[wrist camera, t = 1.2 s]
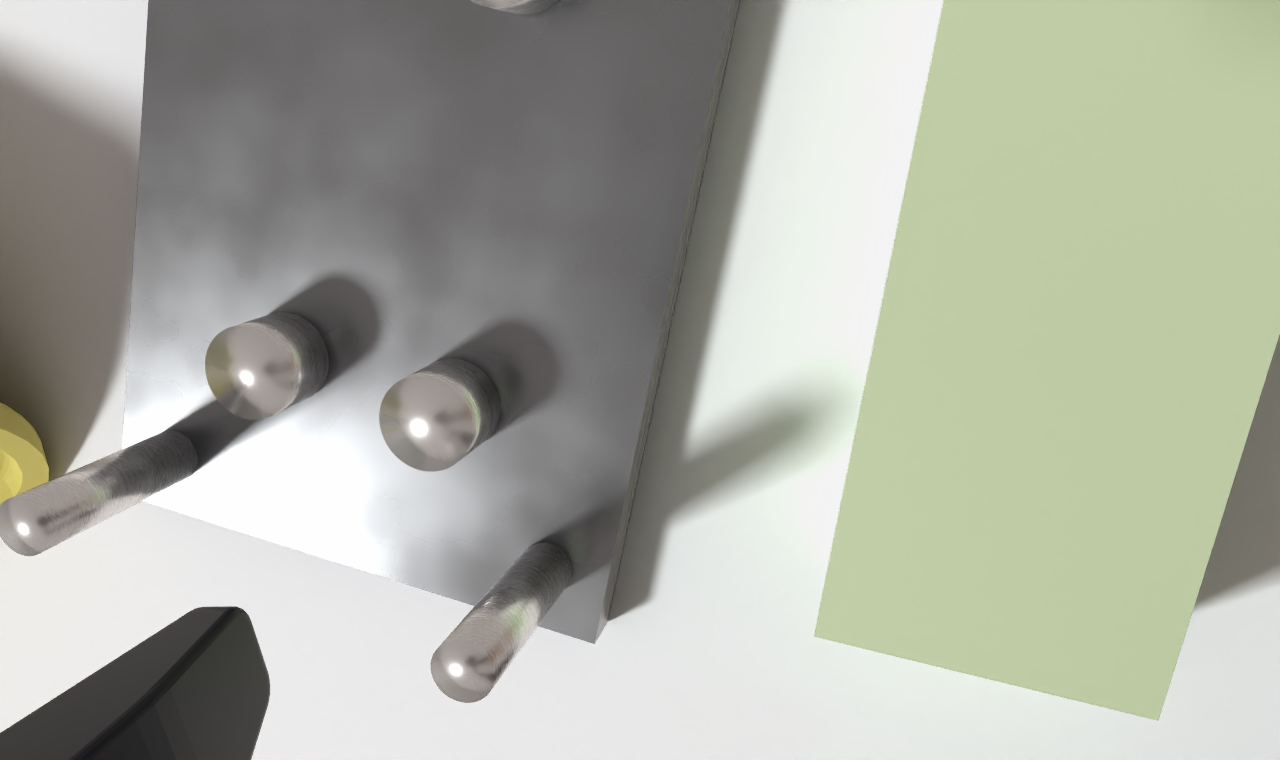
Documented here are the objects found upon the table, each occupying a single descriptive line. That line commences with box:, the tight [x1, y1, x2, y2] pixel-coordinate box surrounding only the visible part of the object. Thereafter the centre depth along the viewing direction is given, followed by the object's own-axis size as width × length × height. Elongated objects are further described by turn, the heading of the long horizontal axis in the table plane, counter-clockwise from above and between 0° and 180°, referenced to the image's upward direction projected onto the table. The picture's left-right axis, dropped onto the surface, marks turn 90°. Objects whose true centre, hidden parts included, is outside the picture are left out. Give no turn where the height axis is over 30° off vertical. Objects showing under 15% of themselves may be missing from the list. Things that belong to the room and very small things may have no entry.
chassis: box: [0, 0, 740, 703], centre depth 20 cm, size 12×18×6 cm, turn 169°
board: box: [814, 0, 1280, 720], centre depth 19 cm, size 6×12×4 cm, turn 173°
